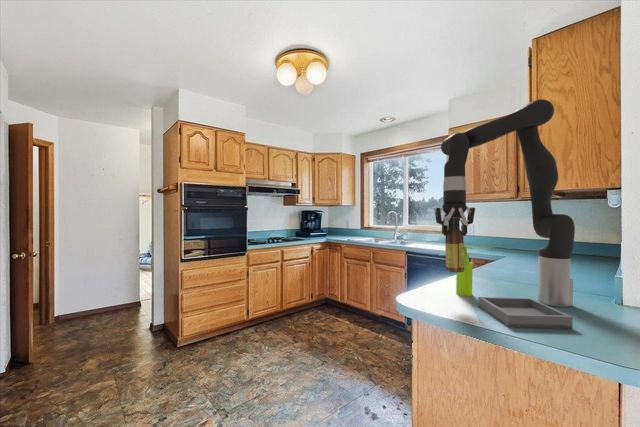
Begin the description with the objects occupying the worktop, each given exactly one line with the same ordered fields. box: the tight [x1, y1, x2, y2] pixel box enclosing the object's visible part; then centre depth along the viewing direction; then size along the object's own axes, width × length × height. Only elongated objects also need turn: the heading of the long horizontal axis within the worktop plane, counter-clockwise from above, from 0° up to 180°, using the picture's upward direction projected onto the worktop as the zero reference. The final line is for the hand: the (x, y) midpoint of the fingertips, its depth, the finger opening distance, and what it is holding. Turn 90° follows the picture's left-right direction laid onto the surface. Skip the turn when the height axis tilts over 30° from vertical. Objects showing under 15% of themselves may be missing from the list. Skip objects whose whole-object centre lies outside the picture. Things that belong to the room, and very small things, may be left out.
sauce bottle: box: [444, 217, 465, 273], centre depth 104 cm, size 7×6×20 cm
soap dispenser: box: [455, 245, 476, 297], centre depth 117 cm, size 6×7×20 cm
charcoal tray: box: [477, 296, 573, 330], centre depth 92 cm, size 18×18×4 cm
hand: (454, 235), depth 104 cm, fingers closed on sauce bottle, 6 cm apart
